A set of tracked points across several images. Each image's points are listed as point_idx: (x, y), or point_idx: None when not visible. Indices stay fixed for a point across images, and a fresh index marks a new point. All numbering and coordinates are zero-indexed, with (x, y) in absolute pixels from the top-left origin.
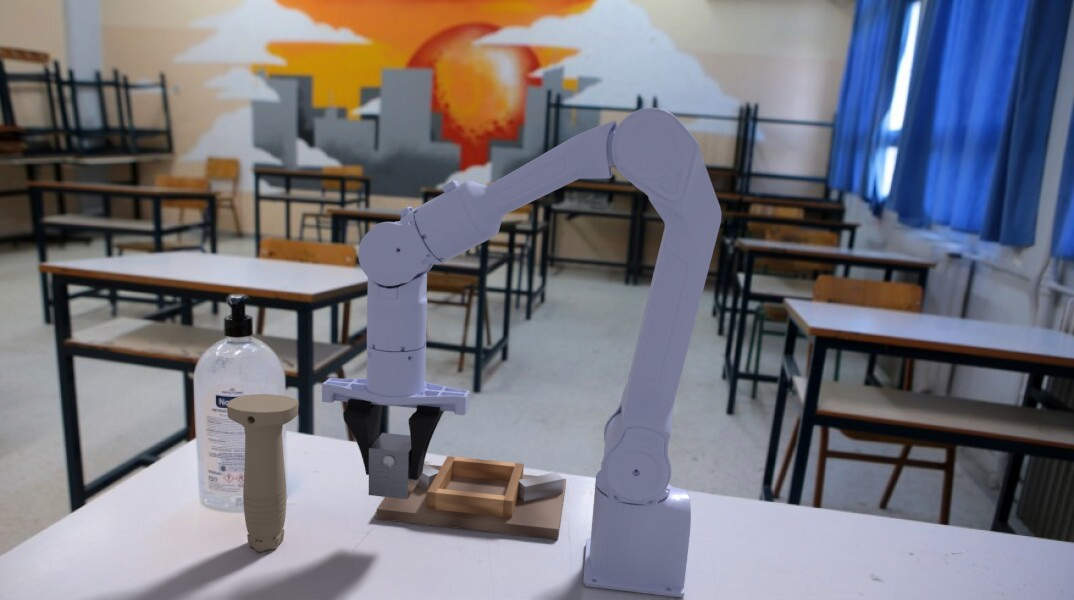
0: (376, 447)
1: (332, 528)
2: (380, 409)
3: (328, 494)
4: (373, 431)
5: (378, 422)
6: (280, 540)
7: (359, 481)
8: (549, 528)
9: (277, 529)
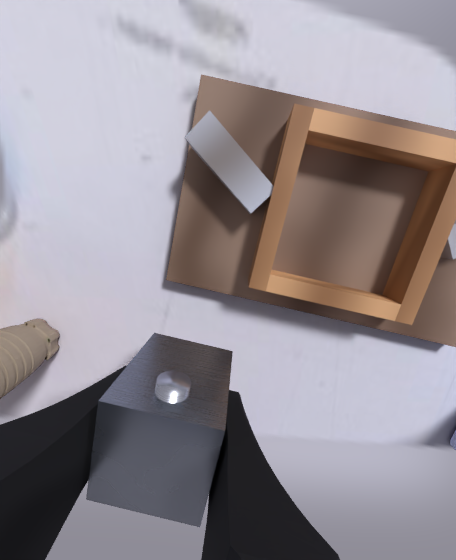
0: (105, 496)
1: (114, 300)
2: (19, 489)
3: (77, 192)
4: (64, 488)
5: (58, 458)
6: (56, 341)
7: (117, 137)
8: (448, 344)
9: (39, 365)
